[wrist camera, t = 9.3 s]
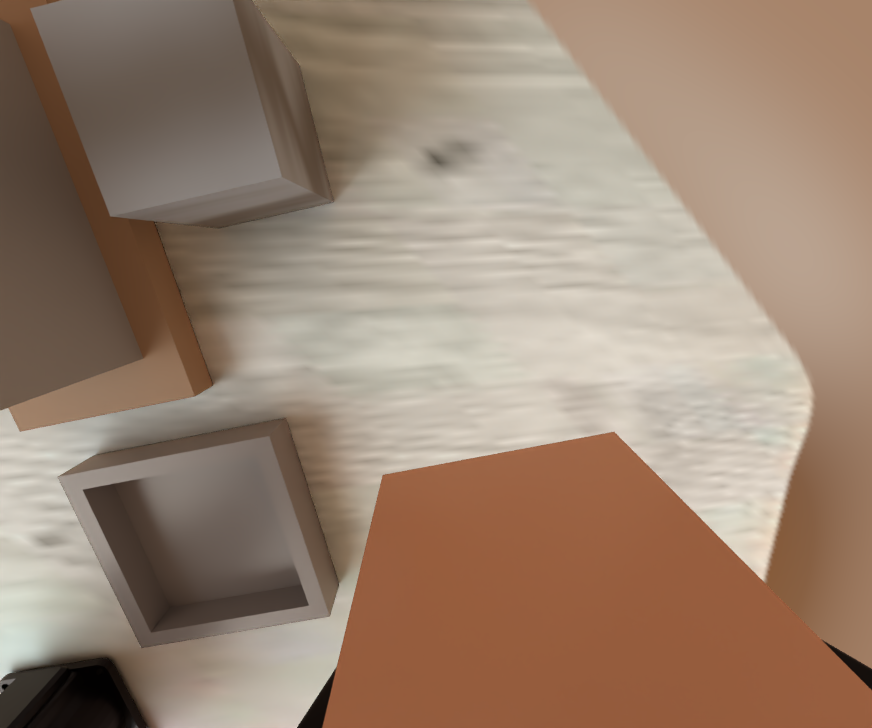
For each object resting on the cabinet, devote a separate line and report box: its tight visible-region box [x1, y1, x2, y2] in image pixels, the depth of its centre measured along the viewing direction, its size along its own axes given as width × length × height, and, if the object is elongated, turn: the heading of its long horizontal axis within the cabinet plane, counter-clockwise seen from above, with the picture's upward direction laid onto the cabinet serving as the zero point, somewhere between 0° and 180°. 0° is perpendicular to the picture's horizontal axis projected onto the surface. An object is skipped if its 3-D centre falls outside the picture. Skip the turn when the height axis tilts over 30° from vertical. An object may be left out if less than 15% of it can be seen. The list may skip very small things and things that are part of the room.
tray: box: [58, 418, 339, 648], centre depth 20 cm, size 10×10×2 cm
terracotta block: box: [322, 432, 872, 728], centre depth 7 cm, size 5×5×6 cm
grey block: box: [30, 0, 334, 228], centre depth 14 cm, size 5×5×6 cm
